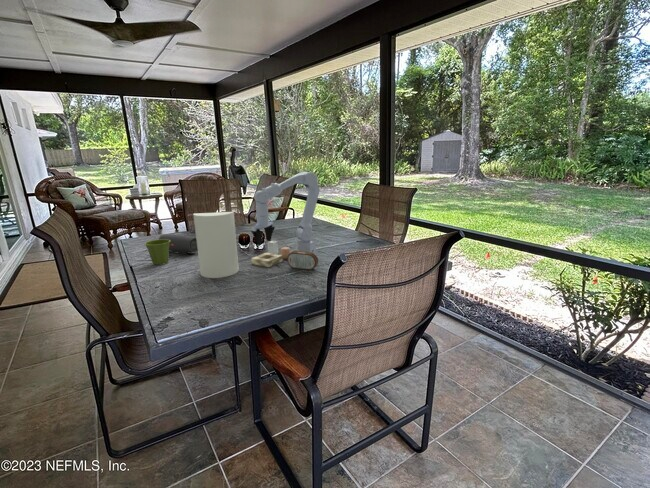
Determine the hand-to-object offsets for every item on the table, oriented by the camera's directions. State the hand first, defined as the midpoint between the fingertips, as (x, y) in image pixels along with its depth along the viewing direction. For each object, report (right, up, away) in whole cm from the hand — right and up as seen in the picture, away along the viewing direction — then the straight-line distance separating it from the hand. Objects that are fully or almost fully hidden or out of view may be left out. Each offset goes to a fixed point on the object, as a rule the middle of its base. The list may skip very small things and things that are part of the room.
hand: (263, 242), depth 167 cm
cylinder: (-19, -14, -9) cm, 25 cm away
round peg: (+10, -8, +10) cm, 16 cm away
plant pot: (-54, -11, +5) cm, 55 cm away
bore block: (+1, -10, +3) cm, 10 cm away
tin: (+20, -13, -7) cm, 25 cm away
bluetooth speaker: (-52, -6, +23) cm, 57 cm away
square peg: (+2, -6, +17) cm, 18 cm away
